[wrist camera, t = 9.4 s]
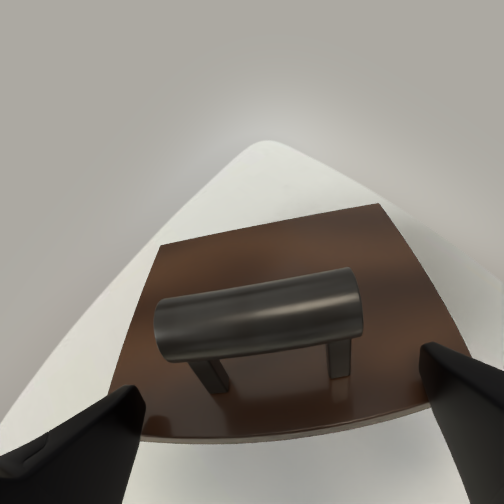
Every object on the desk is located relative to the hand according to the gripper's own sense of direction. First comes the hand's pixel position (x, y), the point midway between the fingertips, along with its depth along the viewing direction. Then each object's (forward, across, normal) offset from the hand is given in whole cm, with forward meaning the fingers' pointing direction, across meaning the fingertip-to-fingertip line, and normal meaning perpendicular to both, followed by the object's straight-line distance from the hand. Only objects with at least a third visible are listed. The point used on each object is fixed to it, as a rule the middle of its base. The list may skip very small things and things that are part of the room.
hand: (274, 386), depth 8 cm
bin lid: (+5, 0, 0) cm, 5 cm away
